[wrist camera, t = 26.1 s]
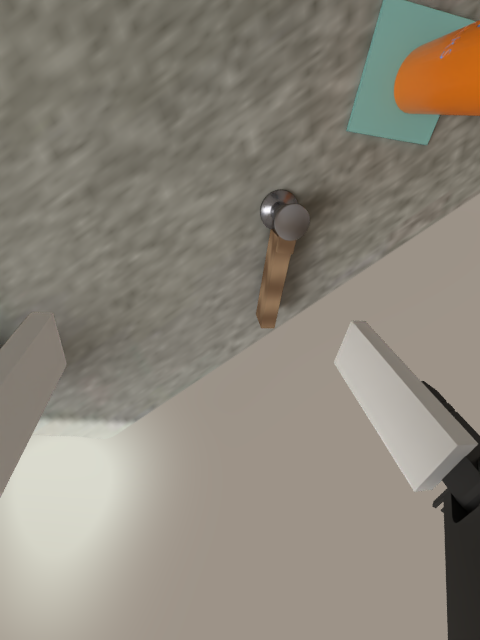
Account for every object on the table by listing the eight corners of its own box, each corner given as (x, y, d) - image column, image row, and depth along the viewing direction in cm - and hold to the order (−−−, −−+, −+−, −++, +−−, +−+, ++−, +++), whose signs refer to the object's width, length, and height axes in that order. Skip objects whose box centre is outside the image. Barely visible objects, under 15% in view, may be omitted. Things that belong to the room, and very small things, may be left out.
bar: (268, 194, 41) (279, 203, 37) (299, 197, 42) (313, 206, 38) (249, 314, 53) (256, 332, 48) (274, 314, 54) (282, 332, 49)
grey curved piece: (263, 187, 42) (272, 194, 38) (301, 192, 43) (313, 198, 39) (257, 227, 45) (263, 237, 41) (292, 231, 47) (302, 241, 43)
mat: (384, -3, 33) (387, -5, 32) (475, 23, 35) (479, 22, 35) (346, 131, 40) (348, 131, 39) (424, 144, 42) (427, 145, 42)
